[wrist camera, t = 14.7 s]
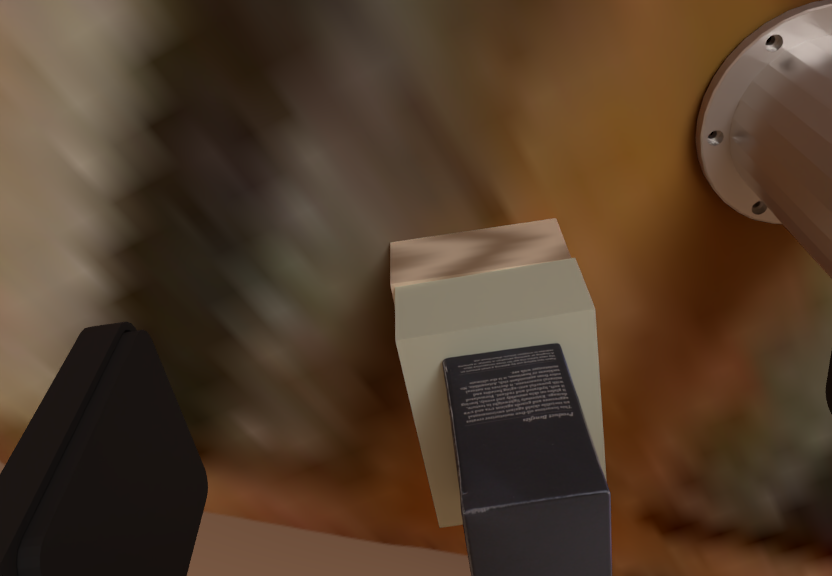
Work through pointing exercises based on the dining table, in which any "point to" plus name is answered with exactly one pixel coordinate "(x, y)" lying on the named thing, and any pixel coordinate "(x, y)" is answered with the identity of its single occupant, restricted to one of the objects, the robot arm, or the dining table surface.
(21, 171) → the dining table surface
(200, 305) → the dining table surface
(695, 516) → the dining table surface
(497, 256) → the tower base
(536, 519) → the small box
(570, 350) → the tower top
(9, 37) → the dining table surface
